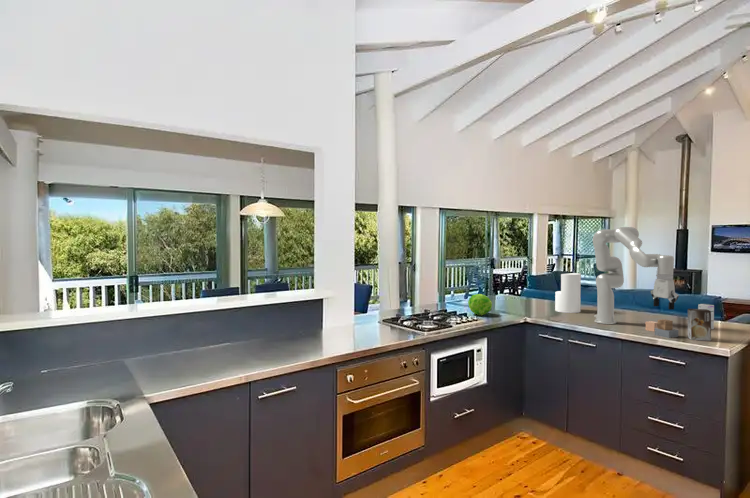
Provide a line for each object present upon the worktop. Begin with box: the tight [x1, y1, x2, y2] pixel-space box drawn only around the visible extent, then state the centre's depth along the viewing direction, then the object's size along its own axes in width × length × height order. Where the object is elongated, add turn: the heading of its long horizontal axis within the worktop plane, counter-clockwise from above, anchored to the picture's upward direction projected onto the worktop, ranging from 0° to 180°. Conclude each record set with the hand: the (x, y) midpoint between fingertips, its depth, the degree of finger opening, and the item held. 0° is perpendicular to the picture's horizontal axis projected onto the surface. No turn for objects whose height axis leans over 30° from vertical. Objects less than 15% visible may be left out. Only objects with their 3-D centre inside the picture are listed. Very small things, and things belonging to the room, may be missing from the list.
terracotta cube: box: [645, 320, 658, 333], centre depth 262 cm, size 5×5×5 cm
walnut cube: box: [657, 318, 674, 330], centre depth 248 cm, size 5×5×5 cm
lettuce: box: [467, 293, 493, 316], centre depth 317 cm, size 17×20×15 cm
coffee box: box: [687, 308, 712, 342], centre depth 238 cm, size 9×6×16 cm
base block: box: [654, 328, 679, 339], centre depth 248 cm, size 8×8×4 cm
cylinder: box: [554, 272, 582, 314], centre depth 331 cm, size 17×17×28 cm
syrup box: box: [697, 303, 715, 330], centre depth 266 cm, size 6×6×14 cm
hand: (663, 307), depth 248 cm, fingers open, 9 cm apart
